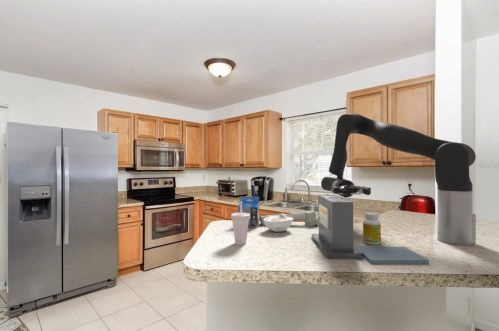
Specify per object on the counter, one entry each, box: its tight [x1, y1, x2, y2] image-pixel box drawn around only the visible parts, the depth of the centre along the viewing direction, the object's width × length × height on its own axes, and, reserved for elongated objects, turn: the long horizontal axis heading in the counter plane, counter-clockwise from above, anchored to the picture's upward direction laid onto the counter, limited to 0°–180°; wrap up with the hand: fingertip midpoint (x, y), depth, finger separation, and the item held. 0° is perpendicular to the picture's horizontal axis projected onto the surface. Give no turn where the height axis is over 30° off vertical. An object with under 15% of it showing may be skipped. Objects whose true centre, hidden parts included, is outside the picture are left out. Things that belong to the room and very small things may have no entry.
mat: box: [354, 245, 430, 265], centre depth 73 cm, size 15×11×1 cm
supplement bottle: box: [362, 211, 382, 246], centre depth 86 cm, size 5×5×10 cm
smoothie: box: [230, 200, 250, 246], centre depth 86 cm, size 6×6×14 cm
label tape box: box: [237, 196, 260, 228], centre depth 110 cm, size 9×4×12 cm, turn 76°
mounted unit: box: [311, 194, 364, 260], centre depth 81 cm, size 10×20×16 cm, turn 179°
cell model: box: [264, 212, 294, 233], centre depth 102 cm, size 10×12×7 cm
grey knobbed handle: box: [259, 210, 319, 227], centre depth 112 cm, size 5×7×25 cm
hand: (357, 192), depth 97 cm, fingers open, 8 cm apart
